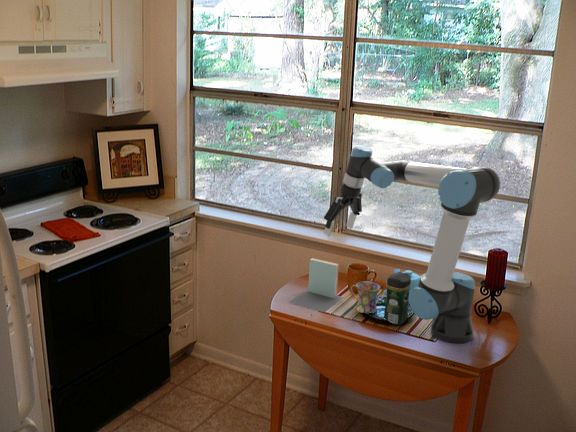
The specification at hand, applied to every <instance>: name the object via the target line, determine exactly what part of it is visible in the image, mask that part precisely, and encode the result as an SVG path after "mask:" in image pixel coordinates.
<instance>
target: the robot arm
mask: <svg viewBox="0 0 576 432" xmlns="http://www.w3.org/2000/svg"><path fill="white" fill-rule="evenodd" d="M372 156H373V150H372V148H371V147H369V146H367V145H364V144H356V145H354V146H353V147H352V150H351V152H350V155H349V159H348V162H347V167H346V170H345V173H344V177H343V181H342V183H341V185H340V186H341V187H340V192H341V195H340V196H337V195H336V196H335V197H334V200H333V202H332V203H331V205H330V207H329V208H328V210H327V212H326V213H325V215H324V217H323V219H324V220H325V221H326V223H325V226H324V227H325V228H324V231H323V234H324V235H326V236H327V237H330V236H331V234H332V230H333V226H334V224H335V222H334V220H335V219H336V218H337V216H338V215H339V214H340V213H341V211H342V210H344V209H346V208H347V207H350V209H351V211H350V213H349V216H348V219H347V222H346V228H348V229H350V230H353V227H354V226H355V222H356V219H357V216H360V214H361V213H362V211H363V208H362V207H363V205H362V197H363V193H362V192H361V190H362V187H363V184H364V181H365V179H366V180H367V181H368V182H370V183H372V185H374V186H376V187H378V188H380V189H382V190H383V189H387V188H388V187H391V185H392V184H393V182H399V181H400V182H408V183H415V184H421V185H426V186H432V187H438V191H437V195H438V196H439V200H440V202H441V203H440V207H441V209H442V210H443V213H442V217H441V221H440V224H439V227H438V231H437V234H436V239H435V242H434V245H433V249H432V252H431V256H430V259H429V262H428V263H429V264H428V267H427V270H426V272H425V273H423V274H421V275H420V276H421V278H420V281H419V285H418V287H415V288H413V289H412V290H411V291H410V293H409V304H410V305H409V307H410V309H411V311H412V312H413V314H414V315H415V316H417V318H420V319H421V320H427V321H428V320H431V319H433V320H432V323H431V325H430V333H431V335H432V336H433V337H435V338H436V339H438V340H440V341H444V342H446V343H451V344H465V343H469V342H471V341H472V340H473V339H474V328H473V321H472V311H473V310H472V308H473V302H474V294H475V290H476V287H475V286H476V281H475V279H474V278H473V277H472V276H471V275H468V274H465V273H462V272H458V271H455V270H456V266H457V262H458V259H459V256H460V253H461V250H462V247H463V243H464V239H465V237H466V233H467V229H468V226H469V223H470V220H471V218H474V217H475V216H477V214H478V210H479V207H480V205H481V204H482V203H486V202H487V203H488V202H489V201H491V200H493V199H494V198H495V197H496V196H497V195H498V193H499V192H500V190H501V189H500V188H501V180H500V176H499V175H498V173H497V172H496V171H495V170H494V169H492V168H490V167H487V166H473V165H472V166H468V167H467V168H463V167H457V166H456V167H455V166H447V165H440V164H430V163H425V162H423V163H422V162H416V161H413V160H412V159H400V160H394V161H393V160H392V161H383V162H379V161H378V160H376V159H375V158H373V157H372Z"/></svg>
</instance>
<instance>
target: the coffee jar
mask: <svg viewBox="0 0 576 432" xmlns="http://www.w3.org/2000/svg"><path fill="white" fill-rule="evenodd" d="M403 272H404V271H400V272H397V273H394V272H393V273H392V274H390V275H389V276H388V277H387V278H386V282H387V284H386V290H387V292H386V293H387V295H386V296H385V297H386V298H385V304H384V310H383V311H384V312H383V319H384V318H385V319H386V320H388V321H389V322H390V323H392V324H391V325H397V326H399V325H402V324H404V323H405V322H406V321H407V319H408V314H409V305H408V301H409V290H410V284H411V277H410V276H409V275H408V274H407V273H403ZM390 323H389V324H390Z"/></svg>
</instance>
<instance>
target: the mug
mask: <svg viewBox="0 0 576 432" xmlns="http://www.w3.org/2000/svg"><path fill="white" fill-rule="evenodd" d="M353 287H355V288H356V289H357V293H358V296H356V294H355V293H354V291H353ZM380 289H381V286H380V285H379V284H378V283H377V282H373V281H368V280H367V281H365V280H364V281H359V282H357V283H356V284H353V285H351V286H350V292H351V294H352V295H353V297H354V298H355V299H356V302H357V304H356V305H355V311H357V312H359V313H362V314H363V312H375V313H377V312H376V311H378V308H377V304H376V301H377V297H378V296H377V295H378V293H379V291H380Z"/></svg>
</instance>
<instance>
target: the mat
mask: <svg viewBox="0 0 576 432" xmlns="http://www.w3.org/2000/svg"><path fill="white" fill-rule="evenodd" d="M344 298H345V297H344V296H341V295H337V296H336V297H335V298H331V297H328V296H324V295H320V294H316V293H312V292H308V288H307V289H305V291H303V292H302V293H300V294H299V295H297V296H295V297H294V298H292V299H291V300H289V301H288V302H287V303H288V304H291V305H296V306H299V307H302V308H306V309H311V310H313V311H317V312H321V313H326V312H328V310H329V309H331V308H332V307H333V306H335V305H336V304H338V303H339V302H340V301H342V299H344Z"/></svg>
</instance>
